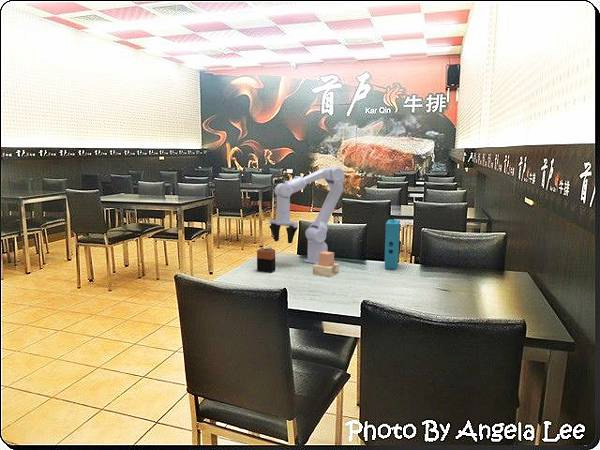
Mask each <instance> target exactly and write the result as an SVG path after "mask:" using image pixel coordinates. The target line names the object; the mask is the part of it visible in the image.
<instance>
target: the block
mask: <svg viewBox="0 0 600 450" xmlns="http://www.w3.org/2000/svg"><path fill="white" fill-rule="evenodd" d="M400 224H401V220H400V219H388V220H387V221H386V223H385V238H384V269H385V270H393V271H397V269H398V266H399V252H400V229H401V228H400V227H401V225H400Z"/></svg>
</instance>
